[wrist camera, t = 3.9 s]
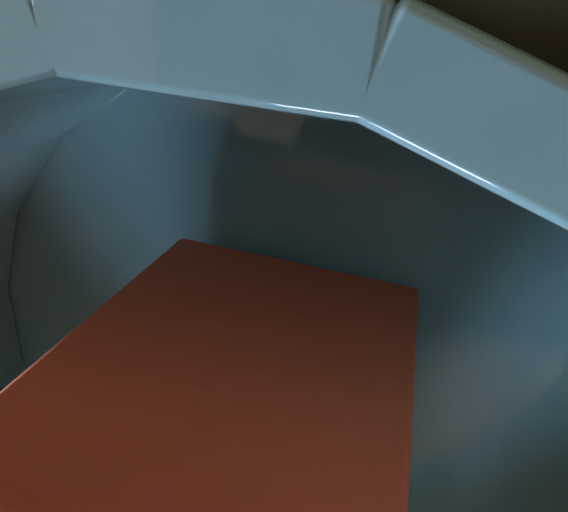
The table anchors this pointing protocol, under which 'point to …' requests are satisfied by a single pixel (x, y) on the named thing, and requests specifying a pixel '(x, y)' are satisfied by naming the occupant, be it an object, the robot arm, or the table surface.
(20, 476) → the orange rectangular block
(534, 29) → the table surface
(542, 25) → the table surface
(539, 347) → the pot
